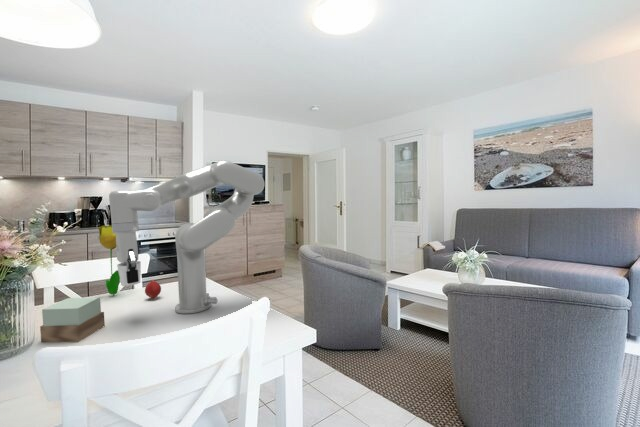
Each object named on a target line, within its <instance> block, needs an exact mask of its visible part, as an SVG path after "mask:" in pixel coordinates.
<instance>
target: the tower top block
mask: <svg viewBox="0 0 640 427" xmlns="http://www.w3.org/2000/svg"><path fill="white" fill-rule="evenodd" d="M41 311H42V313H41V314H42V325H43V326H69V325H80V324H82V323H83V322H85V321H87V320H89V319H90V318H92V317H94V316H96V315H97V314H99V313H101V312H102V308H101V297H100V296H96V297H93V296H92V297H67V298H65V299H62V300H61V301H58V302H56V303H54V304H51V305H49V306H47V307H44V308H42V309H41Z"/></svg>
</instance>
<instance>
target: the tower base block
mask: <svg viewBox="0 0 640 427" xmlns="http://www.w3.org/2000/svg"><path fill="white" fill-rule="evenodd" d="M105 323H106V322H105V312H104V311H101V313H99V314H97V315H96V316H94V317H92V318H90V319H89V320H87V321H85V322H83V323H82V324H80V325H69V326H43V324H42V325H41V326H39V329H40V342H41V343H68V342H70V343H74V342H75V343H77V342H78V343H79V342H81V341H82V340H85V339H86V338H88V337H89V336H91V335H92V334H94V333H96V332H97V331H99V330H100V328H101V329H102V328H104V327H106V324H105ZM103 326H104V327H103ZM98 329H99V330H98ZM95 331H96V332H95Z"/></svg>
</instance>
